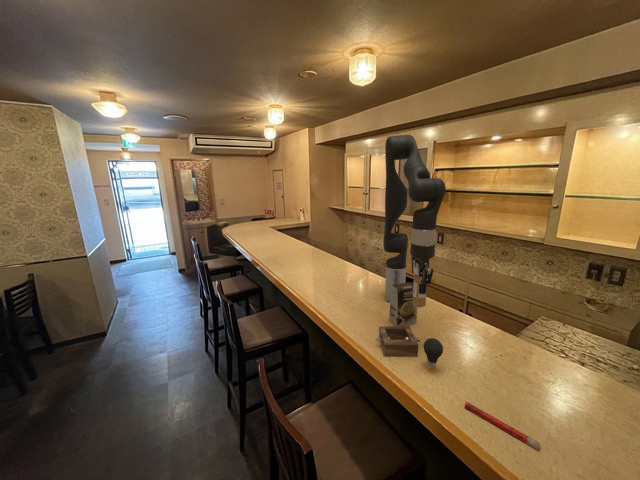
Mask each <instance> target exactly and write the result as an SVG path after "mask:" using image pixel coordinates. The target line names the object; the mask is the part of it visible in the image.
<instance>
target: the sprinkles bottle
mask: <svg viewBox="0 0 640 480" xmlns="http://www.w3.org/2000/svg"><path fill="white" fill-rule="evenodd" d="M413 274H414V276H413V281H412V284H413V301H412V304H413V305H414V306H416V307H417V308H424V307H426V305H427V291H428V287H427V288H426V294H419V276H418V274H417V267H414V273H413ZM420 274H423V273H421V272H420Z"/></svg>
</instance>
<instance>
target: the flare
mask: <svg viewBox="0 0 640 480" xmlns="http://www.w3.org/2000/svg"><path fill="white" fill-rule="evenodd" d="M464 408H465V410H468V411H470V412H471V413H473V414H475V415H476V416H478V417H480V418H482V419H484V420H485V421H486V422H489V423H490V424H492V425H493V426H495V427H497V428H498V429H500V430H502V431H504V432H505V433H507V434H509V435H511V436H512V437H514V438H516V439H518V440H520V441H521V442H523V443H525V444H526V445H528V446H529V447H531V448H533V449H535V450H536V451H539V450H540V445H541V442H539V441H537V440H536V439H534V438H532V437H530V436H529V435H526V434H525V433H523V432H522V431H520V430H517V429H516V428H514V427H512V426H511V425H509V424H507V423H505V422H503V421H502V420H500V419H498V418H496V417H494V416H493V415H491V414H490V413H488V412H486V411H485V410H482V409H481V408H479V407H477V406H475V405H473V404H471V403H470V402H469V401H466V402H465V404H464Z"/></svg>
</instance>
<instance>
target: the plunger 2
mask: <svg viewBox="0 0 640 480" xmlns="http://www.w3.org/2000/svg"><path fill="white" fill-rule="evenodd" d="M415 339H416V341H417V343H420V342H421V339H420V338H419V337H418V338H416V337H415ZM409 340H410V339H409V337H408V336H406V337H405V338H404V340H403V341H409Z"/></svg>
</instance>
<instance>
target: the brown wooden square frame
mask: <svg viewBox="0 0 640 480" xmlns="http://www.w3.org/2000/svg"><path fill="white" fill-rule="evenodd" d="M378 330H379V332H378V338H383V342H380V345H381V348H382V351H383V352H382V353H383V355H384V357H414V358H416V357H418V355H419V342H417V341H416V339H415V338H416V337H415V335H414V332H413V331H412V328H411V327H410V325H406V326H395V325H379V328H378ZM406 336H408V337H409V339H410V340H409V341H404V338H405V337H406ZM388 337H390V338H391V341H389V339H388Z"/></svg>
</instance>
